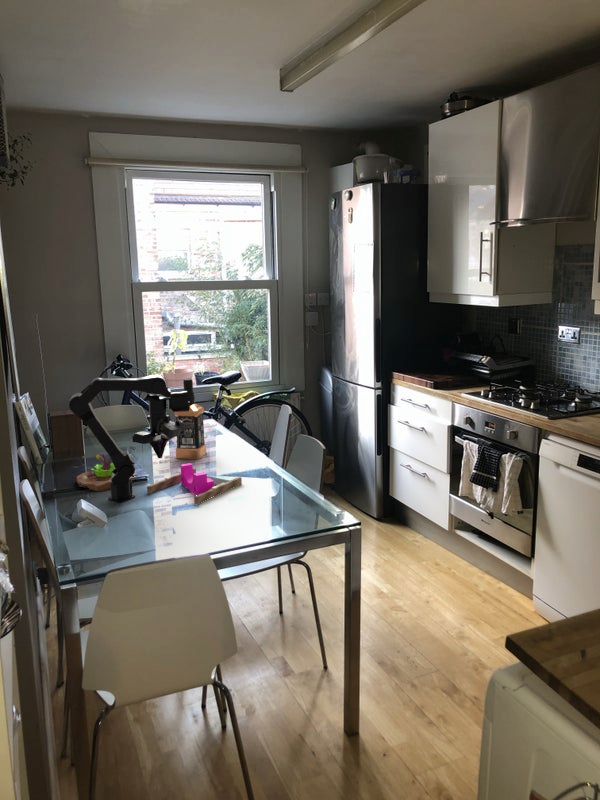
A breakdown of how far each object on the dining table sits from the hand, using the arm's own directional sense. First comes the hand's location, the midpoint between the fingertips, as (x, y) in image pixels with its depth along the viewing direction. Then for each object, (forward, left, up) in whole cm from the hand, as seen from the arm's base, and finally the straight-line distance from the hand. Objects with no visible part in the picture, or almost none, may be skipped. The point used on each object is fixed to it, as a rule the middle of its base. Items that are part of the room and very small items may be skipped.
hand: (160, 458), depth 218 cm
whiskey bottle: (+41, +23, -13) cm, 49 cm away
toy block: (+11, -7, -13) cm, 18 cm away
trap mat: (+19, -6, -13) cm, 24 cm away
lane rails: (+10, -6, -13) cm, 17 cm away
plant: (0, +28, -13) cm, 31 cm away
